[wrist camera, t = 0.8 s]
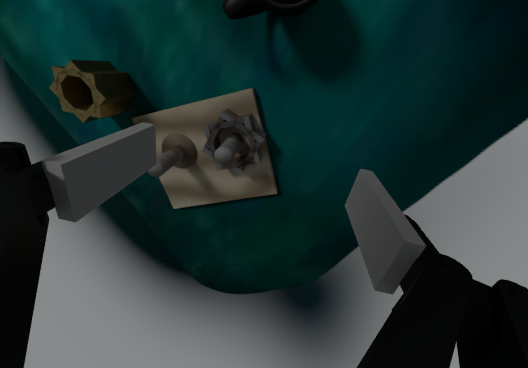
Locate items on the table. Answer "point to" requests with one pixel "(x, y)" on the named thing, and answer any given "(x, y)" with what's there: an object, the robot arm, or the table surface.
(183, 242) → the table surface
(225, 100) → the gear board
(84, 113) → the brass gear
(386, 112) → the table surface
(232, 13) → the mug
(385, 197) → the robot arm
